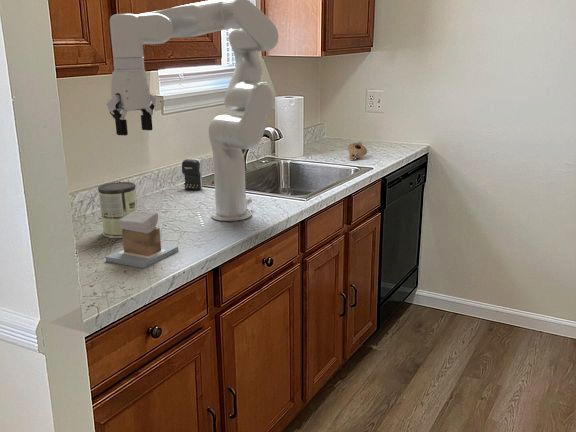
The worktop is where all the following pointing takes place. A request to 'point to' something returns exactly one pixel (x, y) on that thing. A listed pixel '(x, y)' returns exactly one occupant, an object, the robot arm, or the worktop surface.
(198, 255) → the worktop surface
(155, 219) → the rough stone chunk
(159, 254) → the board
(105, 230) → the coffee can
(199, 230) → the worktop surface
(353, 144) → the pottery oil lamp
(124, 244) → the walnut block
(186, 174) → the battery charger
